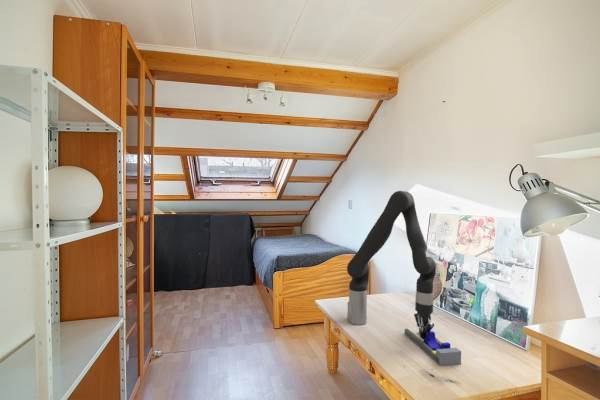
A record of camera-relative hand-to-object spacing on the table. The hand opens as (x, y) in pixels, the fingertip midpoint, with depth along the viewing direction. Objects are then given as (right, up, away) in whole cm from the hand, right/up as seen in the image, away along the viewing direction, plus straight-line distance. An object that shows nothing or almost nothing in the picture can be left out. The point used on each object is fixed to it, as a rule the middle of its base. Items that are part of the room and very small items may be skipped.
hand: (423, 338), depth 142 cm
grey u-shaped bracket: (+1, -1, -4) cm, 5 cm away
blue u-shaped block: (+2, -2, -9) cm, 9 cm away
